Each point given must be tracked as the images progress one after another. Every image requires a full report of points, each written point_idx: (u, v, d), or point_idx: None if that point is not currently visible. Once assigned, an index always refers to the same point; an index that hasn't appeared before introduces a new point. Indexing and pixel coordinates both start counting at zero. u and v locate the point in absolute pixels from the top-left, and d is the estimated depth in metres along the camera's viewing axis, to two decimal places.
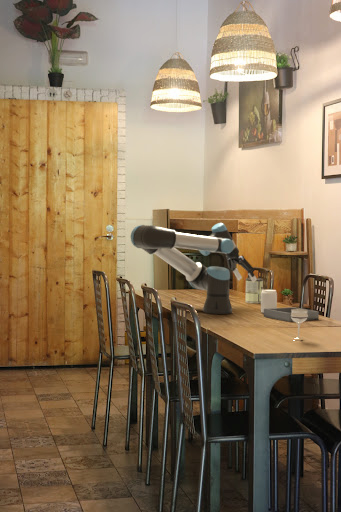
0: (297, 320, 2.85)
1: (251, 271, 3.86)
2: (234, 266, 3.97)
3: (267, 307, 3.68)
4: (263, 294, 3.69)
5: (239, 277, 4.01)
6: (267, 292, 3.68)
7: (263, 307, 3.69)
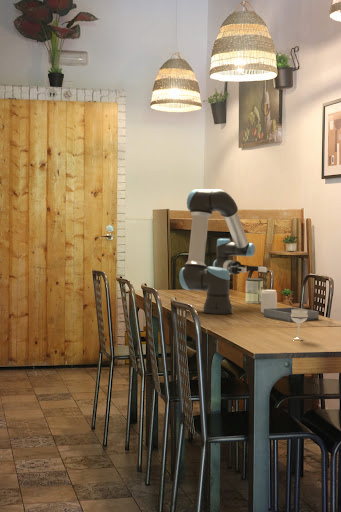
0: (297, 320, 2.85)
1: None
2: None
3: (267, 307, 3.68)
4: (263, 294, 3.69)
5: None
6: (267, 292, 3.68)
7: (263, 307, 3.69)
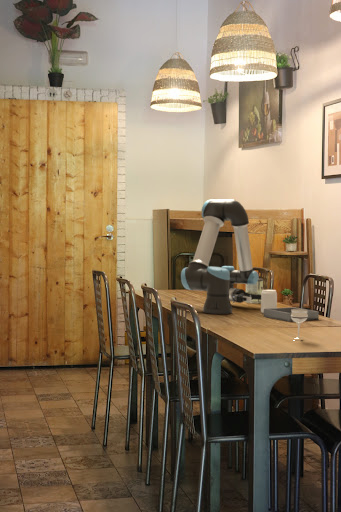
0: (297, 320, 2.85)
1: None
2: None
3: (267, 307, 3.68)
4: (263, 294, 3.69)
5: None
6: (267, 292, 3.68)
7: (263, 307, 3.69)
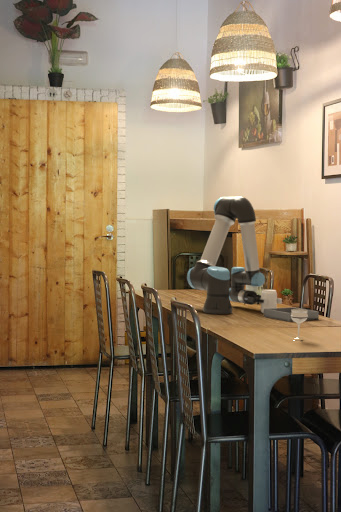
0: (297, 320, 2.85)
1: None
2: None
3: (267, 307, 3.68)
4: (263, 294, 3.69)
5: None
6: (267, 292, 3.68)
7: (263, 307, 3.69)
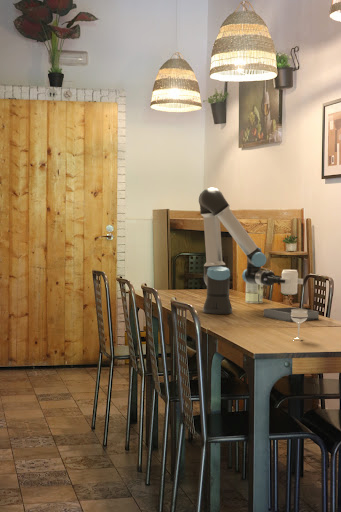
0: (297, 320, 2.85)
1: None
2: None
3: (288, 287, 3.57)
4: (284, 274, 3.58)
5: None
6: (288, 272, 3.57)
7: (284, 287, 3.58)
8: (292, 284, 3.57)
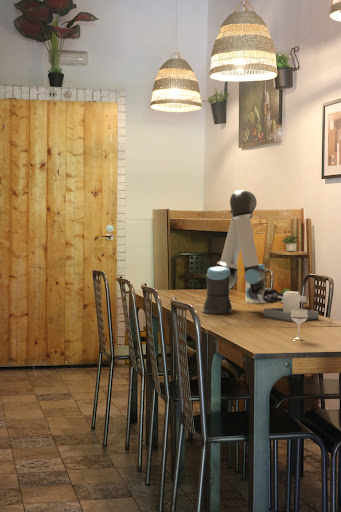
0: (297, 320, 2.85)
1: None
2: None
3: (290, 310, 3.50)
4: (286, 296, 3.51)
5: None
6: (290, 294, 3.50)
7: (285, 309, 3.51)
8: (294, 306, 3.50)
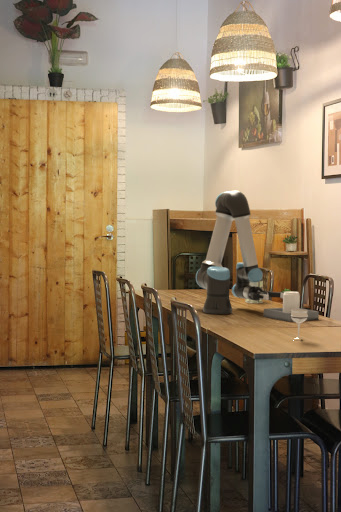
0: (297, 320, 2.85)
1: None
2: None
3: (290, 310, 3.50)
4: (285, 296, 3.51)
5: None
6: (289, 294, 3.50)
7: (285, 310, 3.51)
8: (293, 306, 3.50)
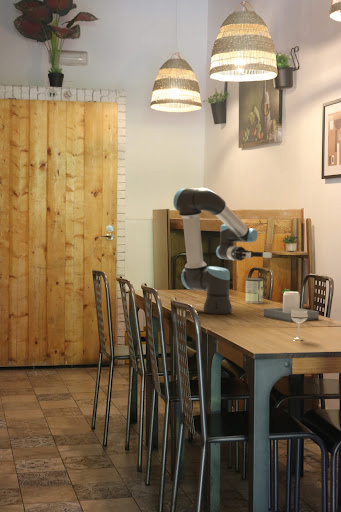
0: (297, 320, 2.85)
1: None
2: None
3: (290, 310, 3.50)
4: (285, 296, 3.51)
5: None
6: (290, 294, 3.50)
7: (285, 310, 3.51)
8: (293, 306, 3.50)
